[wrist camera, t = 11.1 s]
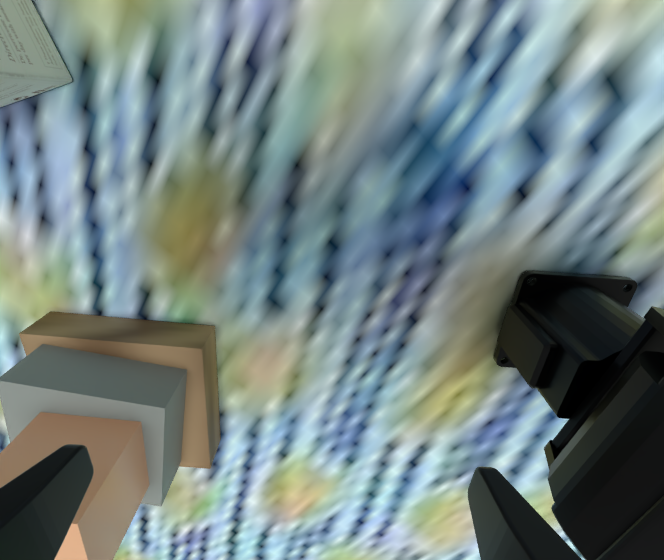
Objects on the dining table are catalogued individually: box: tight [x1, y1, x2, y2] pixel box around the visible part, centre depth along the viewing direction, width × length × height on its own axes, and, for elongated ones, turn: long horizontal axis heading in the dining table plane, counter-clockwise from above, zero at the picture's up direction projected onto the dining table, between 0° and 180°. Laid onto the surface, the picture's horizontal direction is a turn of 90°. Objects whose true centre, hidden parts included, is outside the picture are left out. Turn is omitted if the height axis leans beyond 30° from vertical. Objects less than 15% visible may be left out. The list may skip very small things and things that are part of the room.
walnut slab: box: [19, 312, 221, 468], centre depth 23 cm, size 10×10×3 cm
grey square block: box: [0, 344, 187, 506], centre depth 20 cm, size 8×8×3 cm
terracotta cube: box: [0, 412, 149, 560], centre depth 17 cm, size 5×5×5 cm
